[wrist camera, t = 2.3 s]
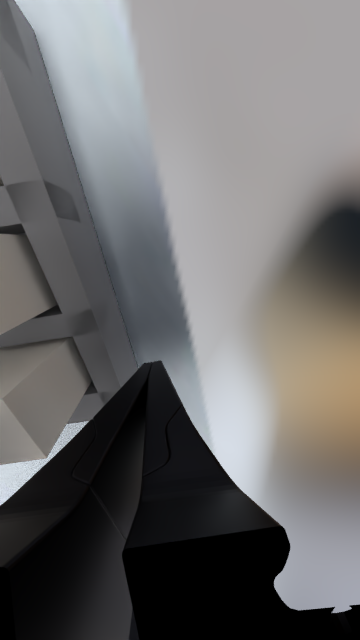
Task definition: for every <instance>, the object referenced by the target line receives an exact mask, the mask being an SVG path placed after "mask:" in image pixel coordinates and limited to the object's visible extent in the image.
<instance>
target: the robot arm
mask: <svg viewBox="0 0 360 640" xmlns="http://www.w3.org/2000/svg"><path fill="white" fill-rule="evenodd" d="M289 551H290V543H289V540H288V537H287V534H286V531H285V529H284V528H283V527H282V526H281V525H280V524H279V523H278V522H276V521H275V520H274V519H273V518H272V517H271V516H270V515H269V514H267V513H266V512H265V511H264V510H263V509H262V508H261V507H259V506H258V505H257V504H256V503H255V502H254V501H253V500H251V499H250V498H249V497H248V496H247V495H246V494H245V493H243V491H241V490H240V489H239V487H237V485H236V484H235V483H234V482H233V481H232V479H231V478H230V477H229V475H228V474H227V473H226V472H225V470H224V469H223V468H222V466H221V465H220V463H219V462H218V460H217V459H216V457H215V456H214V455H213V453H212V452H211V450H210V449H209V447H208V446H207V445H206V443H205V442H204V440H203V439H202V437H201V436H200V434H199V433H198V431H197V430H196V428H195V427H194V425H193V423H192V421H191V420H190V418H189V416H188V414H187V412H186V410H185V408H184V406H183V404H182V402H181V400H180V398H179V396H178V394H177V392H176V390H175V388H174V386H173V383H172V381H171V379H170V377H169V375H168V373H167V371H166V369H165V367H164V365H163V363H162V361H155V362H153V363H152V362H148V363H144V364H143V365H142V366H141V367H140V368H139V369H138V370H137V371H136V372H135V373H134V374H133V375H132V376H131V378H130V379H129V380H128V381H127V382H126V383H125V384H124V385H123V386H122V387H121V388H120V389H119V390H118V391H117V392H116V394H115V395H114V396H113V397H112V398H111V399H110V400H109V401H108V402H107V403H106V404H105V405H104V406H103V407H102V408H101V409H100V411H99V412H98V413H97V414H96V415H95V416H94V417H93V419H91V420H90V421H89V422H88V423H87V424H86V425H85V426H84V427H83V429H82V430H81V431H80V432H79V433H78V434H77V435H76V436H75V437H74V438H73V439H72V440H71V441H70V442H69V443H68V444H67V445H66V446H65V447H64V448H62V449H61V450H60V451H59V452H58V453H57V454H56V455H55V456H54V457H53V458H52V459H51V460H50V461H49V462H48V463H47V464H46V465H44V466H43V467H42V468H41V469H40V470H39V471H38V472H37V473H36V474H35V475H34V476H33V477H32V478H31V479H29V480H28V481H27V482H26V483H25V484H24V485H23V486H22V487H21V488H20V489H19V490H18V491H17V492H16V493H15V494H13V495H12V496H11V497H10V498H9V499H8V500H7V501H6V502H4V503H3V504H2V505H1V506H0V640H360V605H351V606H350V607H351V608H352V609H351V610H348V611H345V612H339V613H331V612H332V611H333V609H334V608H335V607H332V608H321V609H311V610H301V611H298V610H295V609H291V608H289V607H288V606H287V605H286V604H285V603H284V602H283V601H282V600H281V598H280V597H279V595H278V593H277V592H276V590H275V588H274V579H275V577H276V576H277V575H278V574H279V573H280V572H281V571H282V570H283V568H284V566H285V564H286V561H287V558H288V555H289Z"/></svg>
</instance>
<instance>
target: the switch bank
mask: <svg viewBox="0 0 360 640" xmlns="http://www.w3.org/2000/svg"><path fill="white" fill-rule="evenodd" d="M0 177H1V179H2V181H3V184H4V186H0V234H12V235H27V237H28V239H29V241H30V243H31V246H32V248H33V250H34V252H35V255H36V257H37V259H38V261H39V263H40V266H41V268H42V270H43V272H44V274H45V277H46V279H47V281H48V283H49V286H50V288H51V290H52V292H53V294H54V297H55V299H56V301H57V303H58V305H56V306H54V307H52V308H50V309H48V310H46V311H44V312H43V313H41V314H39V315H37V316H35V317H33V318H31V319H29V320H27V321H26V322H24V323H22V324H20V325H18V326H16V327H14V328H12V329H11V330H9V331H7V332H5V333H3V334H1V335H0V348H1V347H7V346H13V345H20V344H26V343H32V342H39V341H45V340H52V339H58V338H64V337H71V336H73V339H74V341H75V343H76V345H77V348H78V350H79V352H80V354H81V356H82V359H83V361H84V363H85V365H86V368H87V370H88V372H89V374H90V376H91V379H92V382H91V383H90V385H89V387H88V388H87V390H86V392H85V393H84V395H83V397H82V399H81V400H80V402H79V404H78V405H77V407H76V409H75V410H74V412H73V414H72V416H71V417H70V419H69V421H68V422H67V424H70V423H77V422H84V421H90V420H91V419H93V417H94V416H95V415H96V414H97V413H98V412H99V411H100V409H101V408H102V407H103V406H104V405H105V404H106V403H107V402H108V401H109V400H110V399H111V398H112V397H113V396H114V395H115V394H116V392H117V391H118V390H119V389H120V388H121V387H122V386H123V385H124V384H125V383H126V382H127V381H128V380H129V379H130V378H131V376H132V375H133V374H134V373H135V372H136V371H137V370H138V367H137V364H136V361H135V357H134V354H133V351H132V348H131V344H130V341H129V338H128V335H127V331H126V328H125V325H124V322H123V318H122V315H121V312H120V309H119V305H118V302H117V299H116V296H115V292H114V289H113V286H112V283H111V279H110V276H109V273H108V270H107V267H106V263H105V260H104V257H103V254H102V250H101V247H100V244H99V241H98V237H97V234H96V231H95V228H94V224H93V221H92V218H91V215H90V211H89V208H88V205H87V202H86V198H85V195H84V192H83V189H82V185H81V182H80V179H79V176H78V172H77V169H76V166H75V163H74V160H73V156H72V153H71V150H70V147H69V143H68V140H67V137H66V134H65V130H64V127H63V124H62V121H61V117H60V114H59V111H58V108H57V104H56V101H55V98H54V95H53V91H52V88H51V85H50V82H49V78H48V75H47V72H46V69H45V65H44V62H43V59H42V56H41V53H40V49H39V46H38V43H37V40H36V36H35V33H34V30H33V28H32V27H31V25H30V24H29V22H28V21H27V19H26V18H25V16H24V15H23V13H22V11H21V10H20V8H19V7H18V5H17V4H16V2H15V1H14V0H0Z"/></svg>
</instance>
